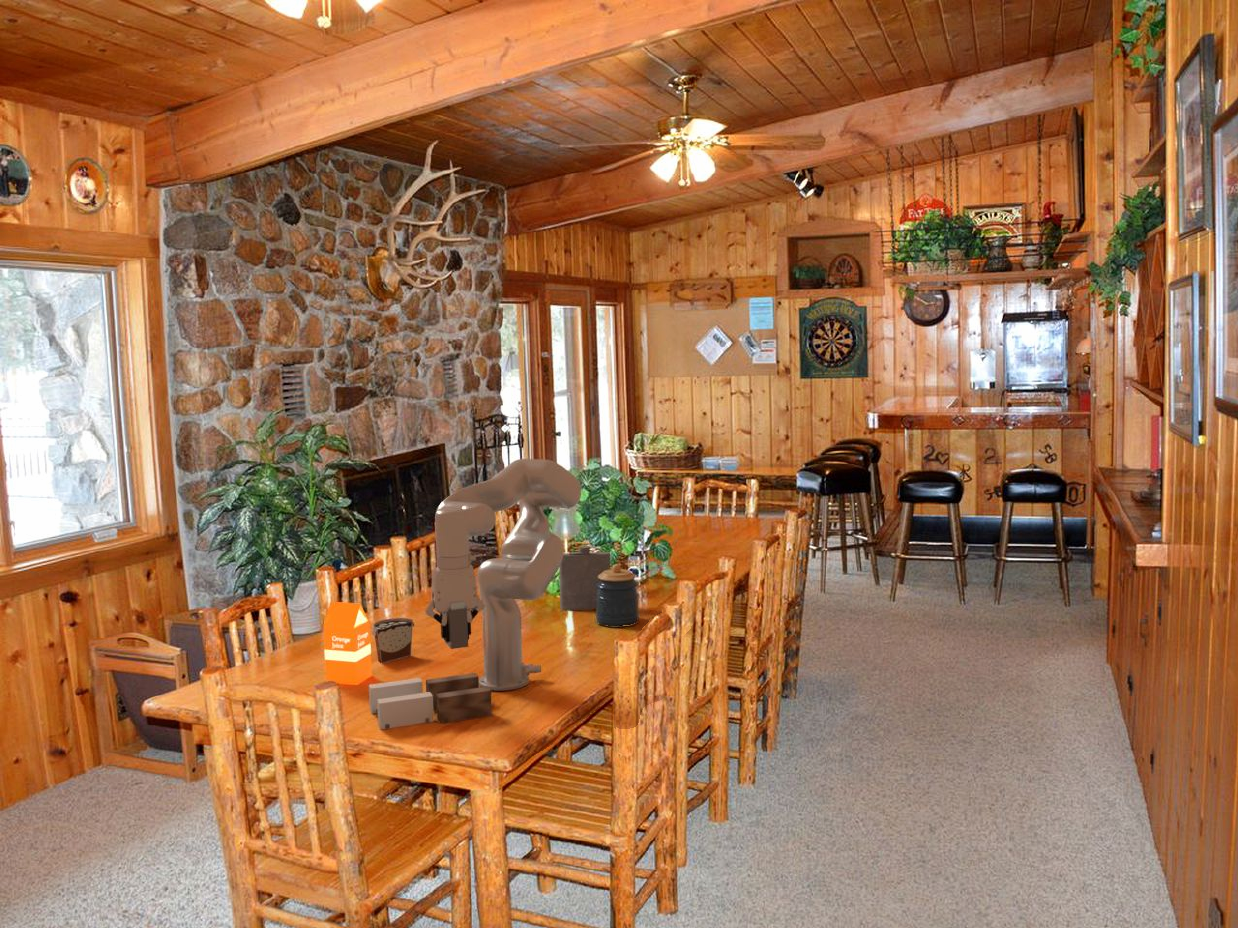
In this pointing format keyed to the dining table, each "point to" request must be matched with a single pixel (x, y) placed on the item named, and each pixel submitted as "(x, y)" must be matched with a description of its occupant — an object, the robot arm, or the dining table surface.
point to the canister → (617, 597)
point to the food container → (393, 638)
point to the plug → (457, 625)
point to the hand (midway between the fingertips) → (456, 638)
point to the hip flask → (581, 578)
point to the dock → (401, 703)
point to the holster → (459, 698)
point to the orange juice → (347, 644)
